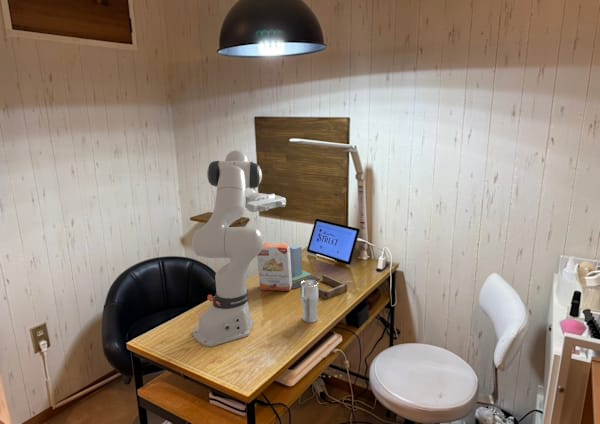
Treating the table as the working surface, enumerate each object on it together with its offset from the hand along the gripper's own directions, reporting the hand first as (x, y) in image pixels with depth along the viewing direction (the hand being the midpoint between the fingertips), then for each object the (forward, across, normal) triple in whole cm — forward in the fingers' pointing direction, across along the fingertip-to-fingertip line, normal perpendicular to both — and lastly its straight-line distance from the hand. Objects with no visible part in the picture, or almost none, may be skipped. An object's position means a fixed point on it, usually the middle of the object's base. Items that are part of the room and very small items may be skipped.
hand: (275, 207), depth 195 cm
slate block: (+7, +5, +33) cm, 34 cm away
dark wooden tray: (+28, +5, +34) cm, 45 cm away
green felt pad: (+7, +5, +34) cm, 35 cm away
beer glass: (+44, -17, +34) cm, 58 cm away
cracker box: (+13, -11, +34) cm, 38 cm away
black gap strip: (+17, +2, +34) cm, 38 cm away
